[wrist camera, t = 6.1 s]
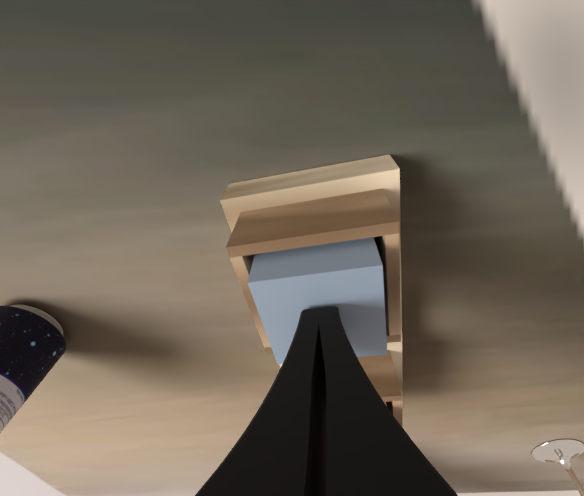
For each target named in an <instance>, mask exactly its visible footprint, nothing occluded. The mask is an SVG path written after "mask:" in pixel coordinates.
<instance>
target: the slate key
mask: <svg viewBox="0 0 584 496" xmlns="http://www.w3.org/2000/svg"><path fill="white" fill-rule="evenodd" d="M247 283H248V286H249V288H250V291H251V294H252V297H253V299H254V302H255V305H256V307H257V310H258V313H259V316H260V318H261V321H262V324H263V326H264V329H265V332H266V335H267V337H268V340H269V343H270V345H271V348H272V351H273V354H274V356H275V359H276V362H277V364H283V362H284V360H285V357H286V355H287V353H288V350H289V348H290V345H291V343H292V340H293V337H294V334H295V332H296V329H297V325H298V322H299V319H300V315H301V312H302V311H303V310H304V309H313V308H322V307H331V306H336V307H338V309H339V314H340V318H341V322H342V325H343V327H344V330H345V333H346V335H347V337H348V340H349V342H350V344H351V346H352V348H353V350H354V352H355V354H356V356H357V357H367V356H378V355H387V337H386V318H385V300H384V282H383V265H382V262H381V259H380V256H379V253H378V250H377V247H376V244H375V241H374V238H373V237H370V238H363V239H356V240H350V241H343V242H336V243H329V244H322V245H315V246H308V247H301V248H294V249H287V250H280V251H274V252H267V253H260V254H255V256H254V259H253V263H252V267H251V271H250V275H249V279H248V282H247Z"/></svg>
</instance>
